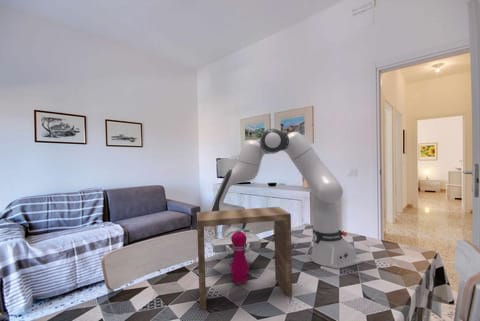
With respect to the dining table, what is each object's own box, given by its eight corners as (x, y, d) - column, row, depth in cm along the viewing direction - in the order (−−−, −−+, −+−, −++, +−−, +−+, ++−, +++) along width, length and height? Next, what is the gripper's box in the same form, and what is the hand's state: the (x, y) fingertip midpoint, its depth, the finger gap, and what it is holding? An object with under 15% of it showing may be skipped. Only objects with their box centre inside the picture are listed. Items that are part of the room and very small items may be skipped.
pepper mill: (247, 284, 91) (246, 232, 90) (228, 282, 92) (227, 231, 92) (250, 274, 98) (249, 226, 97) (233, 273, 99) (231, 225, 99)
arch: (280, 278, 96) (278, 206, 95) (292, 295, 84) (290, 213, 84) (199, 289, 90) (196, 212, 89) (200, 309, 78) (197, 221, 77)
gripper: (210, 234, 105) (212, 246, 92) (255, 230, 109) (264, 240, 96) (210, 248, 105) (213, 262, 92) (255, 243, 109) (264, 256, 96)
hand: (239, 251), depth 94 cm, fingers closed on pepper mill, 5 cm apart
